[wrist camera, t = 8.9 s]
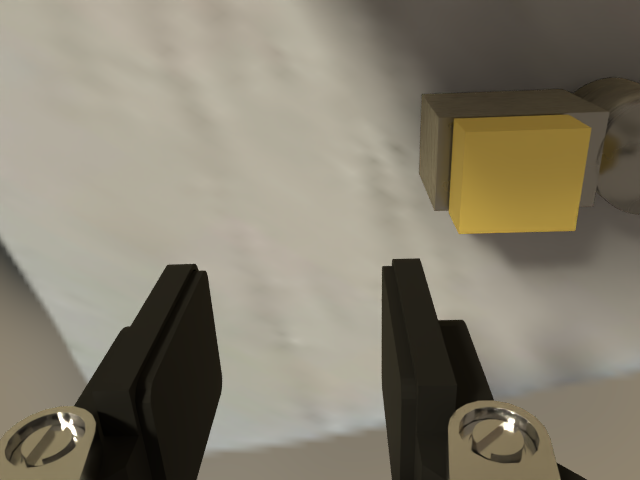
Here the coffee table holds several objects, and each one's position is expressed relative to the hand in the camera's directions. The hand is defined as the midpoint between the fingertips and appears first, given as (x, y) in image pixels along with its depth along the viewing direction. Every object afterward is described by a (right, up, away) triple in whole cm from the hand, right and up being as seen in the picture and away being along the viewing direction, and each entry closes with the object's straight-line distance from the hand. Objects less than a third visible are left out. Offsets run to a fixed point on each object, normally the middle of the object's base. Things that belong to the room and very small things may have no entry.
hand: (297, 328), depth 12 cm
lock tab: (+7, +5, +9) cm, 13 cm away
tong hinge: (+10, +7, +13) cm, 18 cm away
